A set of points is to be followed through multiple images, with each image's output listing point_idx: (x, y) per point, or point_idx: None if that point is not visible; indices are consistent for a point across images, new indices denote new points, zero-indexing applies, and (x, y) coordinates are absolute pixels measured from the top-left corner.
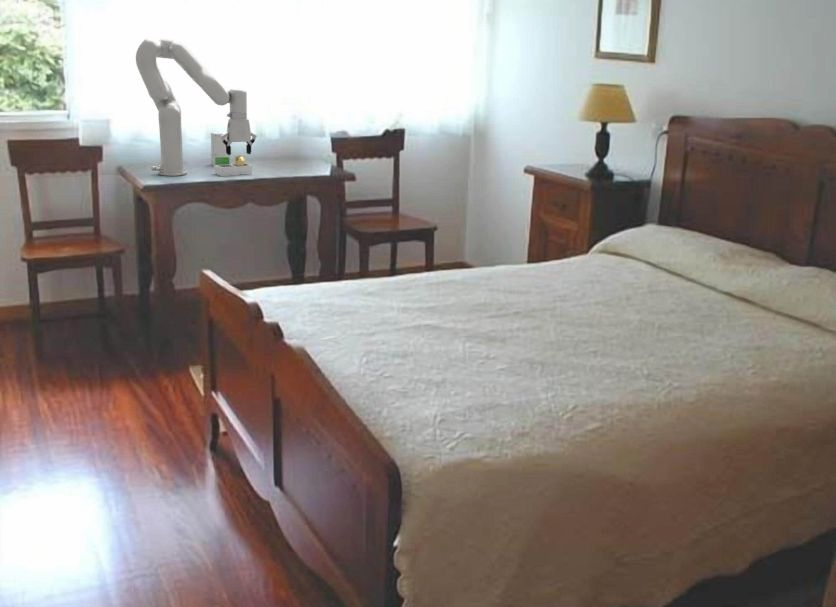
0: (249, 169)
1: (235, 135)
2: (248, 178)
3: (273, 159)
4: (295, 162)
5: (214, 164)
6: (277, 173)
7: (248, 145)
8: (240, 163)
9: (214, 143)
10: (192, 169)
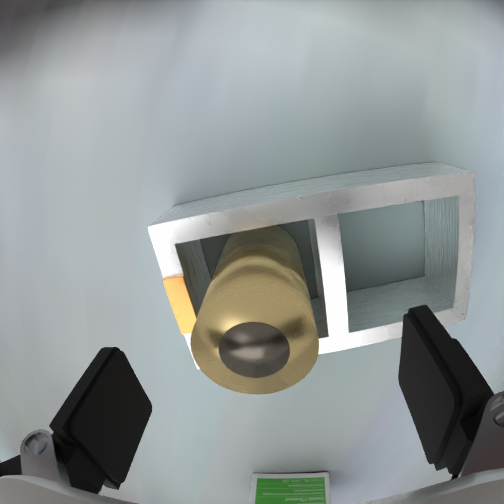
0: (181, 212)
1: None
2: (245, 10)
3: None
4: (22, 436)
5: (328, 478)
6: (20, 215)
7: (86, 452)
8: (260, 257)
9: None
10: None
